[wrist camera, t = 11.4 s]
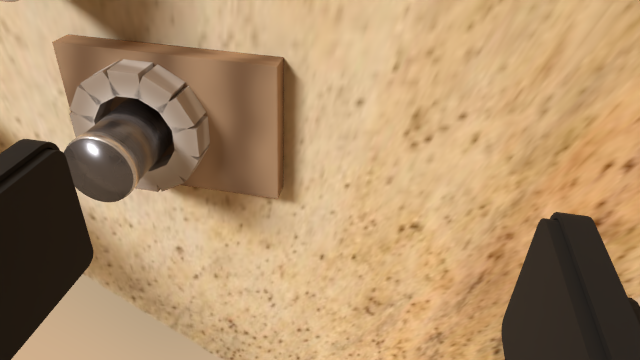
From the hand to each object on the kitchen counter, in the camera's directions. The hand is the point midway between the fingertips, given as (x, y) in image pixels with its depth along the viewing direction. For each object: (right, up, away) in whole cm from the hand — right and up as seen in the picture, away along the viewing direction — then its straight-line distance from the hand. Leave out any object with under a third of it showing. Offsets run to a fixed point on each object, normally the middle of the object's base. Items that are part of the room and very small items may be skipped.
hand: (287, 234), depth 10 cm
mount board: (-11, +7, +32) cm, 35 cm away
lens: (-14, +6, +31) cm, 34 cm away
